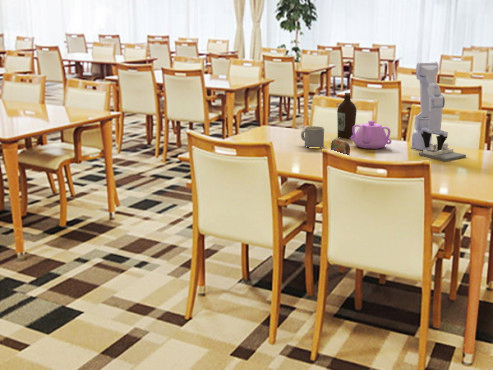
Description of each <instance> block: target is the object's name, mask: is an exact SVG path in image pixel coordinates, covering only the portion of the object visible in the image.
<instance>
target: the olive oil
mask: <svg viewBox="0 0 493 370" xmlns="http://www.w3.org/2000/svg"><path fill="white" fill-rule="evenodd" d="M336 112H337V115H336V117H337V118H336V119H337V138H338V137H340V138H339V139H343V138H346V139H348V138H350V139H351V136H353V132H352V128H353V126H354V125H356V123H357V122H356V119H357V107H356V105H355V104H354V101H352V100H351V93H350V92H344V97H343V101H342V102H340V104H339V105H338V107H337V111H336ZM346 139H345V140H346ZM353 139H354V137H353ZM348 140H349V139H348Z"/></svg>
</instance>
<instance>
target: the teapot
mask: <svg viewBox="0 0 493 370" xmlns="http://www.w3.org/2000/svg"><path fill="white" fill-rule="evenodd" d="M375 122H376V121H375V120H368V123H362V124H358V123H357V124H355V125H354V126H353V128H352V132H353V136H351V138H350V140H351V141H352V142H354V144H355V145H356V146H357V147H358V148H361V149H371V150H372V149H373V150H377V149H382V148H384V147H385V146H386V145H390V144H392V139H390V136H391V129H390V128H389V127H388V126H383V125H381V124H380V123H375ZM356 127H358V129H357V130H356ZM385 130H386V131H387V133H386V131H385ZM353 137H354V138H353Z"/></svg>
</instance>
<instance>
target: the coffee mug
mask: <svg viewBox="0 0 493 370" xmlns="http://www.w3.org/2000/svg"><path fill="white" fill-rule="evenodd" d="M300 137H301V140H302V141H303V142H304V147H305V146H307V147H323V146H324V147H325V145H324V144H325V128H324V127H323V126H314V125H313V126H311V125H310V126H306V127H304V129H303V130H302V131H301V133H300ZM324 147H323V148H324Z"/></svg>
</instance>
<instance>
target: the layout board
mask: <svg viewBox="0 0 493 370" xmlns="http://www.w3.org/2000/svg"><path fill="white" fill-rule="evenodd" d="M418 156H421V157H425V158H430V159H433V158H434V160H437V159H439V161H442V160H443V161H442V162H449V161H454V160H459V159H463V158H466V157H467V154H464V153H459V152H455V151H454V148H451V147H449V143H448V142H444V144H443V146H442V149H441V150H437V152H431V151H429V149H427V150H422V152H418ZM448 160H449V161H448Z"/></svg>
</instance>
